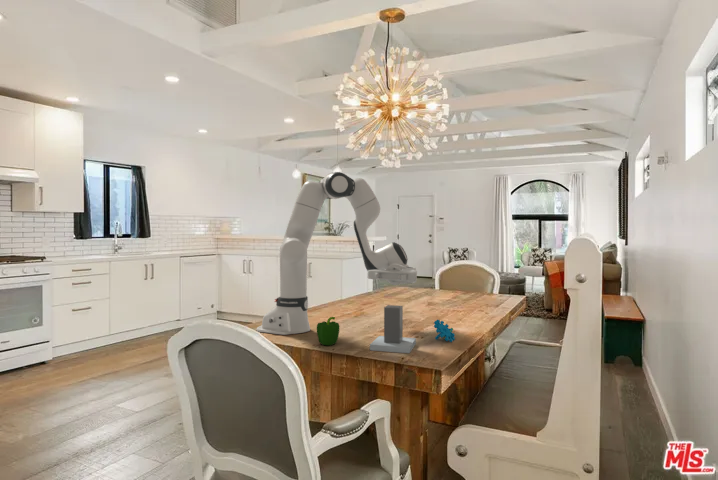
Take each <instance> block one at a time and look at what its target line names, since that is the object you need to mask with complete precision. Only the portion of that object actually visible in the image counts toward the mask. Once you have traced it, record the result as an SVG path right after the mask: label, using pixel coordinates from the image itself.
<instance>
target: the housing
mask: <svg viewBox="0 0 718 480" xmlns="http://www.w3.org/2000/svg"><path fill="white" fill-rule="evenodd" d="M403 307H404V306H403V305H391V304H387V305H386V306H384V307H383V311H384V312H383V319H384V320H383V322H384V323H383V330H384V331H383V336H384V343H398V344H400V343H401V341H402V340H403V337H404V336H403V335H404V334H403V332H404V331H403V325H404V324H403V323H404V318H403V317H404V316H403V315H404V313H403V311H404V310H403V309H404V308H403Z"/></svg>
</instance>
